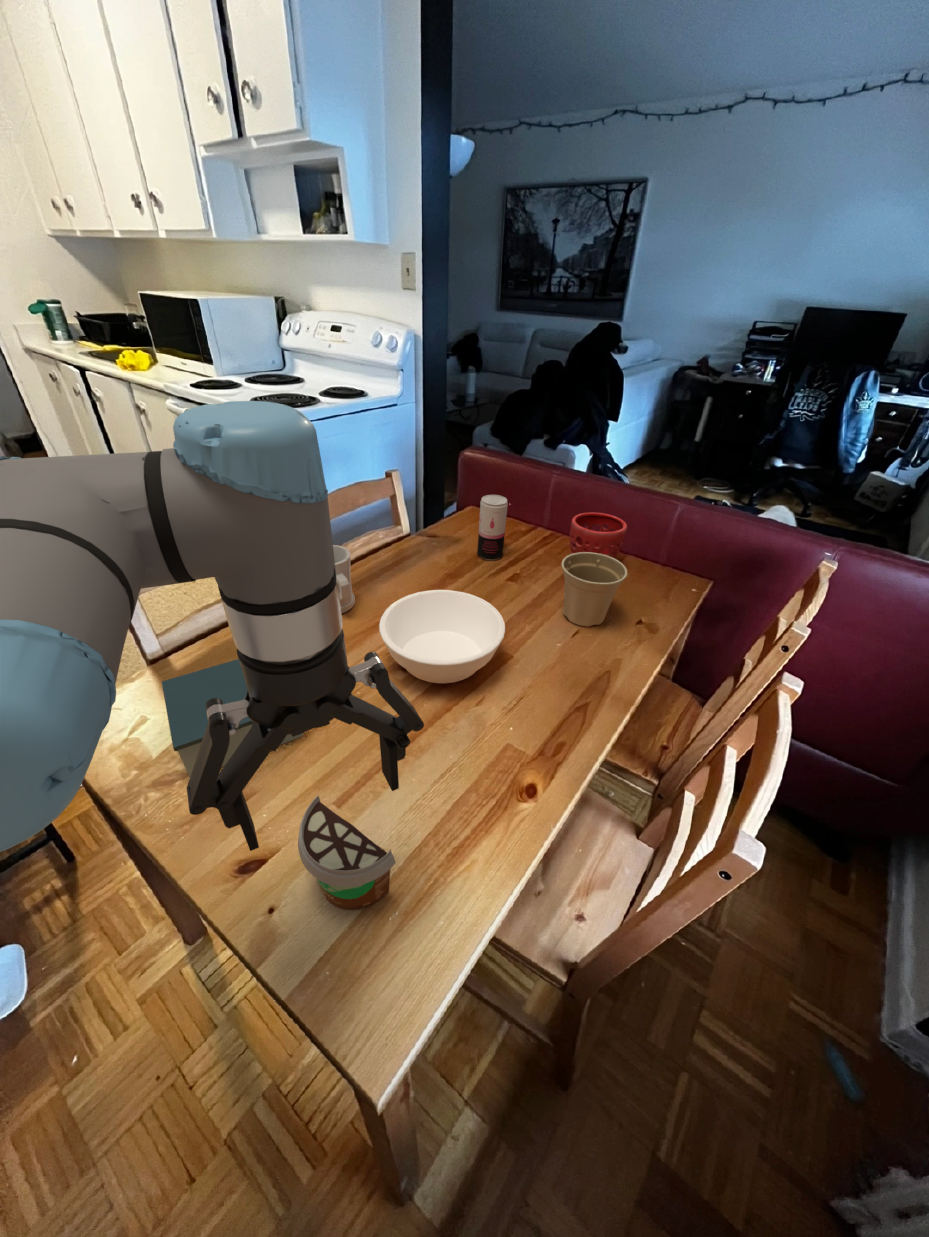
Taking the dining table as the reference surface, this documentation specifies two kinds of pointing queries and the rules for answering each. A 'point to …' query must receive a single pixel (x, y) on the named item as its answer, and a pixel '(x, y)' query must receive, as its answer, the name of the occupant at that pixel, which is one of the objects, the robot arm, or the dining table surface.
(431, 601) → the bowl
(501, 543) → the beverage can
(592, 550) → the flower pot
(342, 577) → the cup
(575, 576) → the flower pot
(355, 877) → the food container
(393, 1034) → the dining table surface
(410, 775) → the dining table surface
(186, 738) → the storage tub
